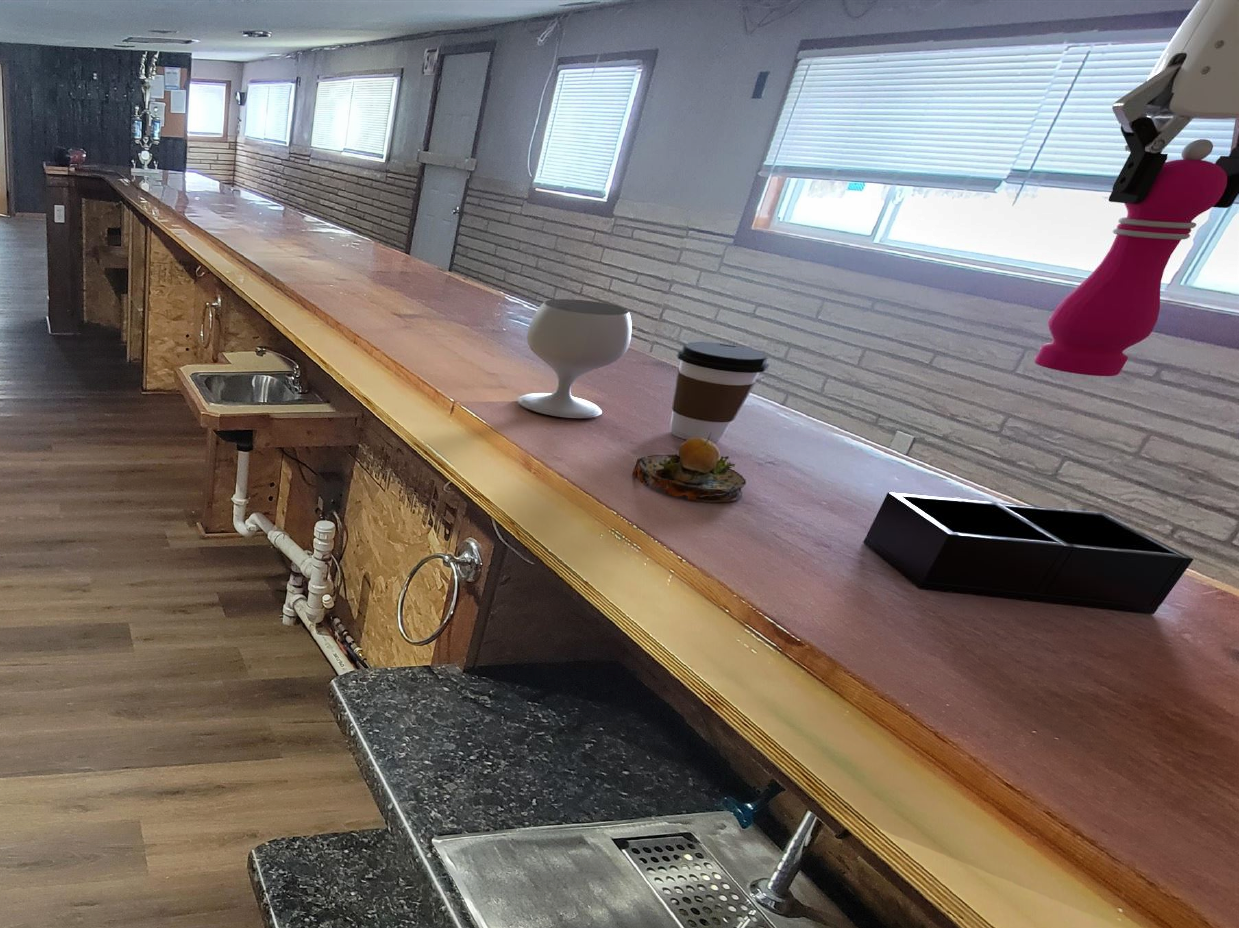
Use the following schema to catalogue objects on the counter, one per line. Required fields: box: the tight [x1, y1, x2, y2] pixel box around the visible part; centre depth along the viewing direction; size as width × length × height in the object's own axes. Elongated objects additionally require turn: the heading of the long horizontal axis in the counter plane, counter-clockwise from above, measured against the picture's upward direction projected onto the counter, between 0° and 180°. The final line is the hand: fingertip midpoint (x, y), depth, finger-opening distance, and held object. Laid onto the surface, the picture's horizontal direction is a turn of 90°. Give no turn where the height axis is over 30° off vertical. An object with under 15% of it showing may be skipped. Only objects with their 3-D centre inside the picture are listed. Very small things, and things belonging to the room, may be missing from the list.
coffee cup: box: [670, 341, 770, 443], centre depth 115 cm, size 11×11×12 cm
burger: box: [632, 432, 747, 503], centre depth 99 cm, size 12×12×8 cm
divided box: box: [863, 491, 1194, 615], centre depth 81 cm, size 20×10×6 cm, turn 80°
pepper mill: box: [1033, 138, 1227, 377], centre depth 77 cm, size 7×7×20 cm
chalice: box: [517, 298, 633, 419], centre depth 123 cm, size 14×14×15 cm
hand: (1168, 202), depth 75 cm, fingers closed on pepper mill, 6 cm apart
